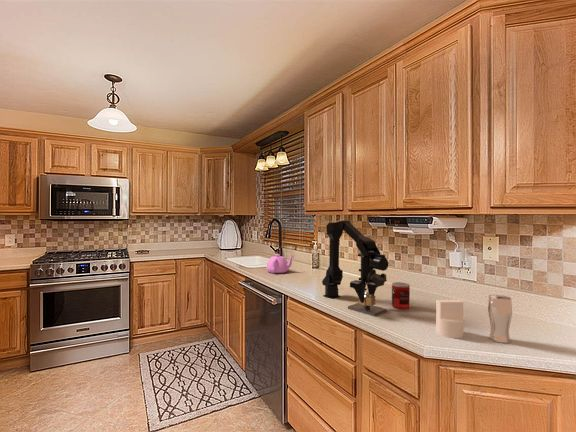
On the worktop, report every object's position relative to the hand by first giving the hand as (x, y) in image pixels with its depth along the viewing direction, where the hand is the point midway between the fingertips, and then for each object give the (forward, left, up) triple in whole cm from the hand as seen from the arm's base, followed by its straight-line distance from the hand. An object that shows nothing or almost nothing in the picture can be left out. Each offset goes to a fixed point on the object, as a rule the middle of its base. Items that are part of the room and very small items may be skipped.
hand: (366, 301), depth 140 cm
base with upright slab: (+36, -1, -4) cm, 36 cm away
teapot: (-97, +31, -4) cm, 102 cm away
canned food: (+8, +16, -4) cm, 18 cm away
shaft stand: (0, 0, -4) cm, 4 cm away
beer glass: (+50, +6, -4) cm, 51 cm away
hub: (0, 0, -1) cm, 1 cm away
